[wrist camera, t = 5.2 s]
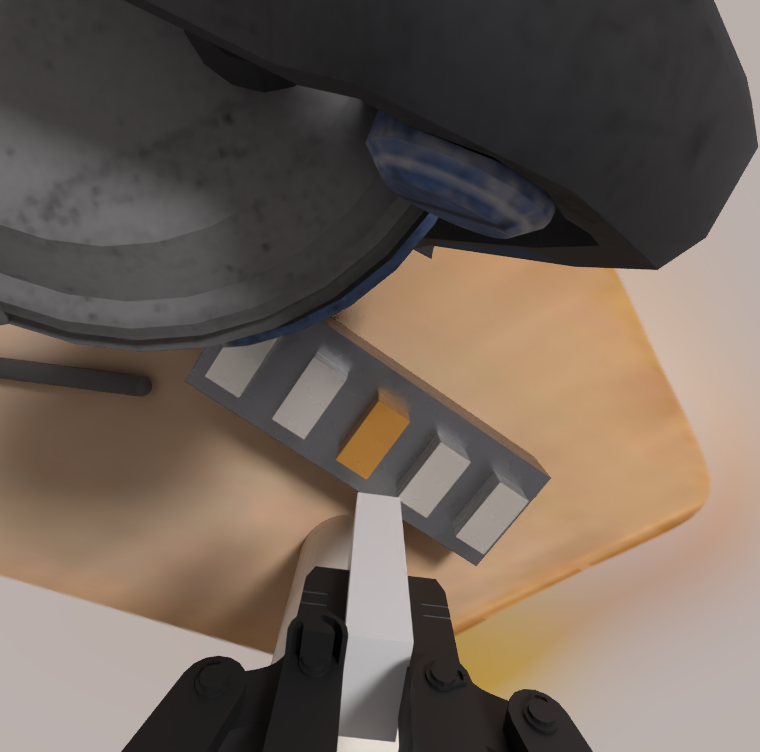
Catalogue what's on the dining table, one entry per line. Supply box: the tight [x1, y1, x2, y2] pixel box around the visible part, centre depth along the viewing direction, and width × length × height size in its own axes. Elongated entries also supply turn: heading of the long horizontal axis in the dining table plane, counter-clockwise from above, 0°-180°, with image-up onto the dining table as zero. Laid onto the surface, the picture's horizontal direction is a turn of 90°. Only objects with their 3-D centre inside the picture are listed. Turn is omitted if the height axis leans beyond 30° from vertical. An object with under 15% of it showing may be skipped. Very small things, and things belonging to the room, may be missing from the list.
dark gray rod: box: [0, 358, 152, 396], centre depth 28 cm, size 11×1×1 cm, turn 82°
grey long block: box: [185, 316, 551, 566], centre depth 27 cm, size 20×7×5 cm, turn 55°
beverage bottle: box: [0, 0, 758, 352], centre depth 14 cm, size 10×13×25 cm
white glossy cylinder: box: [271, 514, 399, 752], centre depth 25 cm, size 7×7×14 cm
